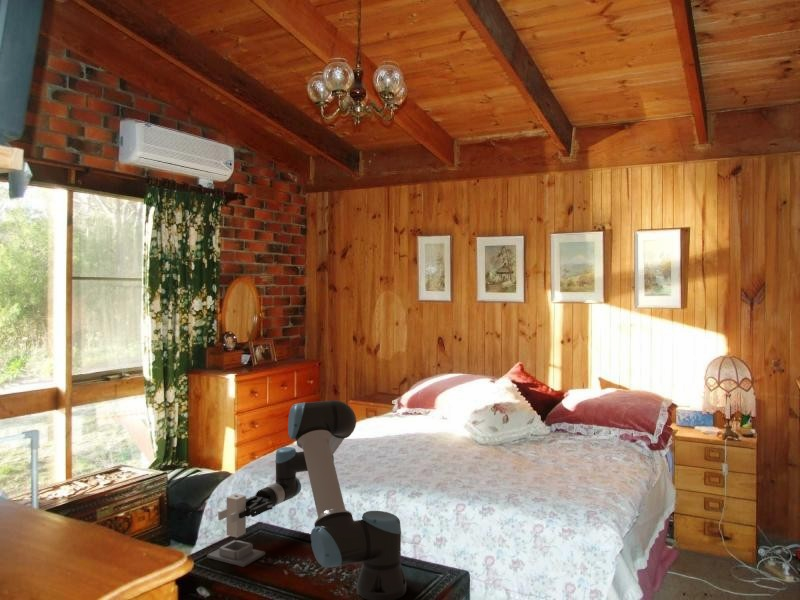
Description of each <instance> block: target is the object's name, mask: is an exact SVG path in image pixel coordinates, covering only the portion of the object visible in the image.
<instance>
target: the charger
mask: <svg viewBox="0 0 800 600" xmlns="http://www.w3.org/2000/svg"><path fill="white" fill-rule="evenodd" d="M246 498H247V496H246V495H244V494H241V493H234V494H232V495H229V496H226V508H227V517H226V536H229V537H233V538H239V537H241V536H243V535H245V534H246V533H247V530H246V529H247V528H246V526H247V525H246V524H247V523H246V522H247V521H246V520H247V517H244V518H241V519H239V520H237V521H235V522H233V523H230V514H233V513H235V512H237V511H239V510H241V509H245V511H246Z"/></svg>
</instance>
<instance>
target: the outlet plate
mask: <svg viewBox="0 0 800 600" xmlns="http://www.w3.org/2000/svg"><path fill="white" fill-rule="evenodd" d="M253 547H254V544H253V543H251V542H248V541H243V540H239V539H238V540H235V539H233V540H232V541H229V542H227V543H226V544H223V545H221V546H220V547H219V548H217V549H216V550H214V551H211V552H209V553H208V554H206V558H207V559H210V560H211V559H212V560H214V561H219V562H223V563H226V564H230V565H233V566H234V565H235V566H238V567H241V568H245V567H246V566H249V565H250V564H252V563H254V562H255V561H256V560H259V559H261V558H262V557H263V556H265V555H266V551H264V550H261V549H260V550H259V549H254V548H253Z"/></svg>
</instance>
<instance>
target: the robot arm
mask: <svg viewBox="0 0 800 600" xmlns="http://www.w3.org/2000/svg"><path fill="white" fill-rule="evenodd" d="M356 426H357V417H356V414H355V412H354V410H353V409H352V407H351V406H350V405H348V403H346V402H343V401H341V400H336V399H334V400H332V399H331V400H324V401H322V400H321V401H310V402H305V401H303V402H298V403H294V404H293V405H292V406H291V408H290V409H289V413H288V420H287V431H288V432H287V433H288V437H289V439H290V440H293V441H294V440H295V441H296V445H297V447H298V448H300V449H301V450H302V451H297V450H296V448H295V447H293V446H292V447H291V446H283V447H280V448H278V449H276V451H275V460H274V462H275V482H274V483H272V484H269V485H268V486H266V487H263V488H261V489H259V490H258V491H257V492H256V493H255V494H254V495H252V496H251V497H248V498H247V497H246V511H245V509H241V510H239V511H237V512H235V513H233V514H230V523H233V522H235V521H237V520H239V519H241V518H244V517H246V518H247V517H251V518H253V517H256V516H260V515H261V514H263V513H265V512H267V511H269V510H270V511H271V510H272V509H273V508H274V507H276V506H278V505H279V504H282V503H283V502H286V501H287V500H290V499H293V498H295V497H296V496H297V495H299V493H301V490H302V483H301V481H300V479H299V478H298V477H297V475H296V473H302V472H307V474H308V479H309V483H310V486H311V487H310V488H311V492H312V496H313V501H314V505H315V511H316V516H317V518H316V520H315V521H314V525H313V526H314V527H313V528H312V530H311V532H310V540H311V542H310V544H311V548H312V552H313V555H314V557H315V559H316V561H317V562H318V564H319V565H320V566H321V567H323V568H325V569H326V568H327V569H328V568H339V567H340V566H345V565H350V564H355V563H362V565H361V568H360V573H359V575H358V580H357V581H356V593H357V595H358V596H359V597H361V598H362V599H365V600H398V599H401V598H402V597H404V595H405V594H406V592H407V580H406V577H405V574H404V571H403V567H402V564H401V563H402V561H401V557H402V555H401V553H402V550H401V549H402V547H401V545H402V542H401V541H402V528H401V520H400V518H399V517H398V515H395V514H394V513H391V512H389V511H388V512H387V511H382V510H368V511H366V512H364V513H363V514H362V516H361V519H359V520H354V516H353V513H352V512H351V511H349V510H347V509H346V507H345V503H344V498H343V493H342V490H341V486H340V483H339V479H338V473H337V470H336V467H335V462H334V461H335V458H334V454H335V452H336V451H337V449H339V447H340V445H341V444H342V443H343V441H344V440H345V439H348V438H349V437H350V436H351V435H352V433H354V431H355V429H356ZM217 518H218V519H217V520H218V521H222V520H223V519H227V507H226V508H224V509H222V510H219V511H218V517H217Z"/></svg>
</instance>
